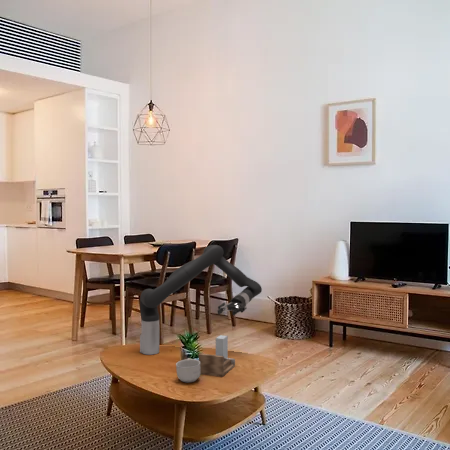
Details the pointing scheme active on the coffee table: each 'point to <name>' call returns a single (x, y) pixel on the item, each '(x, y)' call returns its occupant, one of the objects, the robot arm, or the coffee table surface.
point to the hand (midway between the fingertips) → (225, 313)
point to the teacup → (188, 370)
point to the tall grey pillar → (222, 346)
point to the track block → (215, 364)
